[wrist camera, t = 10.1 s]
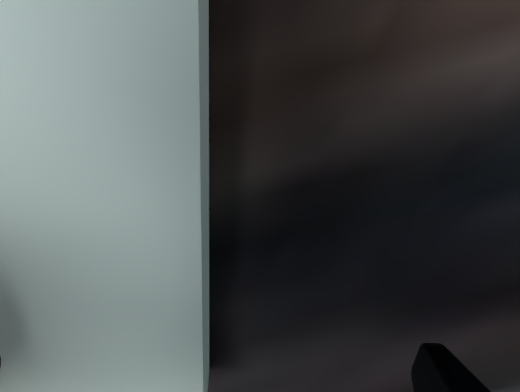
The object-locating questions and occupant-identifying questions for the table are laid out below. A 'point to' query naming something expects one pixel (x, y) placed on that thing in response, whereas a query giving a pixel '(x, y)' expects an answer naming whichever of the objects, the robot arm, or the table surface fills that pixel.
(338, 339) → the table surface
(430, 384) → the robot arm
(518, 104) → the table surface
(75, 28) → the box
